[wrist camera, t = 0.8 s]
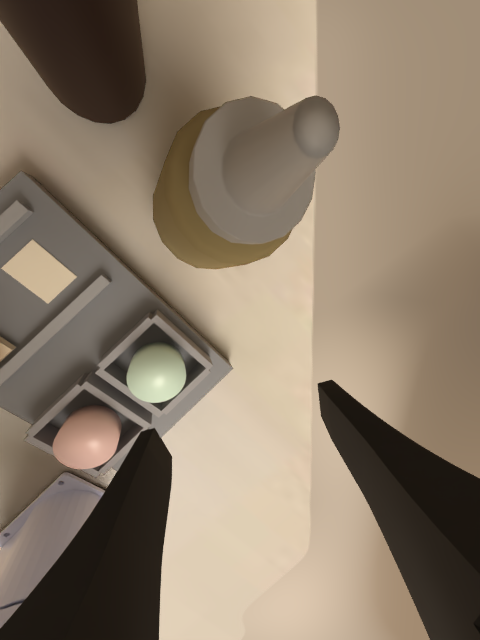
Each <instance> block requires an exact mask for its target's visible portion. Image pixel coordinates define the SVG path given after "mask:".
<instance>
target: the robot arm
mask: <svg viewBox="0 0 480 640" xmlns="http://www.w3.org/2000/svg"><path fill="white" fill-rule="evenodd" d="M318 392H319V401H320V410H321V417H322V419H323V421H324V423H325V426H326V428H327V430H328V432H329V435H330V437H331V439H332V441H333V442H334V444H335V446H336V448H337V450H338V451H339V453H340V455H341V457H342V458H343V460H344V462H345V463H346V465H347V467H348V469H349V470H350V472H351V474H352V476H353V477H354V479H355V481H356V483H357V484H358V486H359V488H360V489H361V491H362V493H363V495H364V497H365V499H366V500H367V502H368V504H369V506H370V508H371V510H372V512H373V514H374V516H375V519H376V521H377V523H378V525H379V527H380V529H381V531H382V533H383V535H384V538H385V540H386V542H387V544H388V546H389V548H390V551H391V553H392V555H393V557H394V559H395V561H396V563H397V565H398V568H399V570H400V572H401V574H402V577H403V579H404V581H405V583H406V586H407V588H408V590H409V592H410V595H411V597H412V599H413V601H414V603H415V606H416V608H417V610H418V612H419V615H420V617H421V619H422V622H423V624H424V626H425V629H426V631H427V633H428V636H429V638H430V640H480V478H477V477H476V476H474V475H472V474H470V473H468V472H466V471H464V470H462V469H460V468H458V467H456V466H455V465H453V464H451V463H449V462H448V461H446V460H444V459H442V458H441V457H439V456H437V455H435V454H434V453H432V452H430V451H429V450H427V449H425V448H424V447H422V446H420V445H419V444H417V443H416V442H414V441H413V440H411V439H409V438H408V437H406V436H405V435H403V434H402V433H400V432H399V431H397V430H396V429H394V428H393V427H391V426H390V425H389V424H387V423H386V422H384V421H383V420H381V419H380V418H379V417H377V416H376V415H375V414H374V413H372V412H371V411H370V410H368V409H367V408H366V407H364V406H363V405H362V404H361V403H359V402H358V401H357V400H356V399H354V398H353V397H352V396H351V395H349V394H348V393H347V392H346V391H345V390H343V389H342V388H341V387H340V386H339V385H338V384H336V383H335V382H334V381H333V380H329V381H325V382H322V383H318ZM60 481H63V482H60ZM171 482H172V456H171V454H170V453H169V451H168V449H167V448H166V446H165V444H164V442H163V441H162V439H161V437H160V436H159V434H158V432H157V431H156V429H155V428H152V429H148V430H145V431H141V432H140V434H139V436H138V437H137V439H136V441H135V442H134V444H133V446H132V447H131V449H130V451H129V453H128V454H127V456H126V458H125V459H124V461H123V463H122V464H121V466H120V468H119V469H118V471H117V473H116V474H115V476H114V478H113V479H112V481H111V483H110V484H109V486H108V488H107V489H106V491H105V490H103V489H101V488H99V487H97V486H95V485H93V484H91V483H89V482H87V481H85V480H83V479H81V478H79V477H77V476H75V475H73V474H71V473H68V472H65V473H63V474H61V475H60V476H59V477H58V478H57V479H56V480H55V481H54V482H53V483H52V484H51V485H50V486H49V487H48V488H47V489H46V490H45V491H43V492H42V493H41V494H40V495H39V496H38V497H37V498H36V499H35V500H34V501H33V502H32V503H31V504H30V505H29V506H28V507H27V508H26V509H25V510H24V511H22V512H21V513H20V514H19V515H18V516H17V517H16V518H15V519H14V520H13V521H12V522H11V523H10V524H9V525H8V526H7V527H6V528H5V529H4V530H3V531H2V532H0V547H1V550H0V640H159V613H160V586H161V566H162V554H163V545H164V537H165V530H166V522H167V515H168V507H169V499H170V491H171Z"/></svg>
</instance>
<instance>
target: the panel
mask: <svg viewBox="0 0 480 640" xmlns="http://www.w3.org/2000/svg"><path fill="white" fill-rule="evenodd" d="M0 337H2V338H3V339H5V340H7V341H8V342H10V343H11V344H13V345H14V346H16V348H15V349H14V350H13V351H12V352H11V353H9V354H8V355H7V356H6V357H5V358H4V359H3V360H2V361H1V362H0V407H1V408H3V409H5V410H7V411H8V412H10V413H12V414H14V415H16V416H17V417H19V418H21V419H23V420H25V421H27V422H28V423H30V424H32V425H31V427H30V428H29V429H28V431H27V432H26V434H28V435H27V437H26V438H25V439H24V441H25V442H27V443H29V444H31V445H33V446H35V447H37V448H39V449H41V450H43V451H45V452H47V453H49V454H51V455H53V456H54V457H55V455H54V453H53V442H54V439H55V437H56V435H57V434H58V432H59V430H60V428H61V427H62V425H63V423H64V422H65V420H66V419H67V417H68V416H69V415H70V414H71V413H72V412H74V411H75V410H77V409H79V408H82V407H85V406H90V405H99V406H104V407H107V408H109V409H111V410H113V411H114V412H115V413H116V414H117V415H118V416H119V418H120V420H121V424H122V428H121V433H120V437H119V441H118V445H117V449H116V451H115V453H114V454H113V456H112V457H111V458H110V459H109V460H108V461H107V462H105V463H103V464H102V465H100V466H97V467H94V468H90V469H80V470H82V471H84V472H86V473H88V474H89V475H91V476H93V477H95V478H97V477H98V476H99V475H100V474H101V473H102V474H105V473H106V472H107V471H108V470H109V469H110V468H113V469H114V470H116V471H118V469H119V468H120V466H121V464H122V463H123V461H124V459H125V458H126V456H127V454H128V453H129V451H130V449H131V447H132V446H133V444H134V442H135V441H136V439H137V437H138V436H139V434H140V432H141V431H145V430H148V429H152V428H155V429H156V431H157V432H158V434H159V436H160V437H162V436H163V435H164V434H165V433H167V432H168V431H169V430H170V429H171V428H172V427H173V426H174V425H175V424H176V423H177V422H178V421H179V420H180V419H181V418H182V417H183V416H184V415H185V414H186V413H187V412H188V411H189V410H190V409H192V408H193V407H194V406H195V405H196V404H197V403H198V402H199V401H200V400H201V399H202V398H203V397H204V396H205V395H206V394H207V393H208V392H209V391H210V390H211V389H212V388H213V387H214V386H215V385H216V384H218V383H219V382H220V381H221V380H222V379H223V378H224V377H225V376H226V375H227V374H228V373H229V372H230V371H231V370H232V369H233V368H232V366H231V364H230V362H229V361H227V360H226V359H225V358H224V357H223V356H222V355H221V354H220V353H219V352H218V351H217V350H216V349H215V348H214V347H213V346H212V345H210V344H209V343H208V342H207V341H206V340H205V339H204V338H203V337H202V336H201V335H200V334H199V333H198V332H197V331H196V330H195V329H193V328H192V327H191V326H190V325H189V324H188V323H187V322H186V321H185V320H184V319H183V318H182V317H181V316H180V315H179V314H178V313H176V312H175V311H174V310H173V309H172V308H171V307H170V306H169V305H168V304H167V303H166V302H165V301H164V300H163V299H162V298H161V297H159V296H158V295H157V294H156V293H155V292H154V291H153V290H152V289H151V288H150V287H149V286H148V285H147V284H146V283H145V282H144V281H142V280H141V279H140V278H139V277H138V276H137V275H136V274H135V273H134V272H133V271H132V270H131V269H130V268H129V267H128V266H127V265H125V264H124V263H123V262H122V261H121V260H120V259H119V258H118V257H117V256H116V255H115V254H114V253H113V252H112V251H111V250H110V249H108V248H107V247H106V246H105V245H104V244H103V243H102V242H101V241H100V240H99V239H98V238H97V237H96V236H95V235H94V234H93V233H91V232H90V231H89V230H88V229H87V228H86V227H85V226H84V225H83V224H82V223H81V222H80V221H79V220H78V219H77V218H76V217H74V216H73V215H72V214H71V213H70V212H69V211H68V210H67V209H66V208H65V207H64V206H63V205H62V204H61V203H60V202H59V201H57V200H56V199H55V198H54V197H53V196H52V195H51V194H50V193H49V192H48V191H47V190H46V189H45V188H44V187H43V186H42V185H40V184H39V183H38V182H37V181H36V180H35V179H34V178H33V177H32V176H30V175H28V174H26V173H25V172H23V171H20V172H19V173H18V174H17V175H16V176H15V177H14V178H12V179H11V180H10V181H9V182H8V183H7V184H6V185H5V186H4V187H3V188H1V189H0ZM154 342H163V343H167V344H170V345H172V346H174V347H175V348H177V349H178V350H179V351H180V353H181V354H182V356H183V359H184V364H185V370H186V381H185V384H184V386H183V388H182V389H181V391H180V392H179V393H178V394H177V395H176V396H174V397H173V398H171V399H169V400H167V401H164V402H159V403H150V402H145V401H142V400H140V399H138V398H137V397H135V396H134V395H133V394H132V393H131V391H130V390H129V388H128V385H127V380H126V379H127V372H128V369H129V365H130V362H131V359H132V357H133V355H134V354H135V353H136V351H137V350H139V349H140V348H141V347H143V346H145V345H147V344H150V343H154Z"/></svg>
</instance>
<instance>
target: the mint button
mask: <svg viewBox="0 0 480 640" xmlns="http://www.w3.org/2000/svg"><path fill="white" fill-rule="evenodd" d="M126 380H127V385H128V388H129V390H130V391H131V393H132V394H133V395H134V396H135V397H137V398H138V399H140V400H142V401H145V402H150V403H159V402H164V401H167V400H169V399H171V398H173V397H174V396H176V395H177V394H178V393H179V392H180V391H181V389H182V388H183V386H184V384H185V381H186V370H185V364H184V359H183V356H182V354H181V353H180V351H179V350H178V349H177V348H175V347H174V346H172V345H170V344H167V343H163V342H154V343H150V344H147V345H145V346H143V347H141V348H140V349H139V350H137V351H136V353H135V354H134V355H133V357H132V359H131V362H130V365H129V369H128V372H127V379H126Z"/></svg>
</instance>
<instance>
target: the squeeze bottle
mask: <svg viewBox="0 0 480 640" xmlns="http://www.w3.org/2000/svg"><path fill="white" fill-rule="evenodd" d="M339 130H340V127H339V119H338V115H337V113H336V111H335V109H334V107H333V105H332V104H331V103H330V102H329V101H328V100H326V98H323V97H319V96H312V97H308V98H305V99H304V100H302V101H300V102H298V103H296V104H294V105H292V106H290V107H289V108H287V109H285V110H284V109H283V108H282V107H281V106H279V105H278V104H277V103H274V102H270V101H267V100H263V99H260V98H256V97H252V96H250V97H246V98H242V99H237V100H233V101H229V102H225V103H224V104H223V105H222V106H221V107H217V108H212V109H208V110H204V111H200V112H199V113H198V114H197V115H196V116H195V117H194V118H192V119H191V120H190V121H189V122H188V123H187V124H186V125H185V126H183V127H182V128H181V129H180V130H179V131H178V132H177V134H176V136H175V138H174V141H173V143H172V146H171V148H170V150H169V153H168V155H167V158H166V160H165V162H164V165H163V168H162V171H161V174H160V177H159V180H158V183H157V186H156V189H155V191H154V194H153V220H154V223H155V225H156V228H157V230H158V233H159V235H160V238H161V240H162V242H163V243H164V244H165V245H166V247H167V248H168V249H169V250H170V251H171V252H172V253H173V254H174V255H175V256H176V257H177V258H178V259H179V260H181V261H184V262H186V263H188V264H190V265H192V266H194V267H196V268H205V269H221V268H227V267H233V266H239V265H245V264H248V263H251V262H254V261H257V260H260V259H262V258H265V257H268V256H270V255H271V254H272V253H273V252H274V251H275V250H276V249H277V248H278V247H279V246H280V245H282V244H283V243H284V242H285V241H286V240H287V239H288V237H289V235H290V233H291V231H292V229H293V228H294V227H295V226H296V225H297V224H298V223H299V222H300V221H301V220H302V218H303V216H304V214H305V212H306V210H307V208H308V206H309V204H310V202H311V200H312V195H313V188H314V180H315V173H316V172H315V169H316V168H317V167H318V166H319V165H320V163H321V162H322V161H323V160H324V159H325V158H326V157H327V156H328V155H329V153H330V152H331V151H332V150H333V148H334V147H335V145H336V143H337V140H338V136H339Z"/></svg>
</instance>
